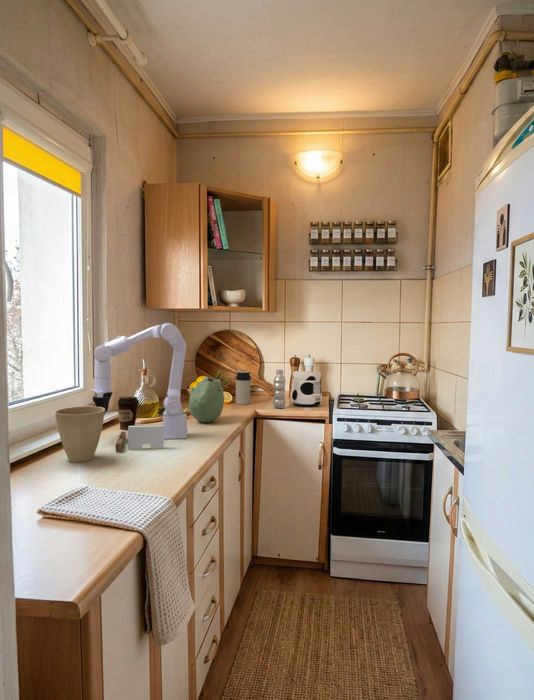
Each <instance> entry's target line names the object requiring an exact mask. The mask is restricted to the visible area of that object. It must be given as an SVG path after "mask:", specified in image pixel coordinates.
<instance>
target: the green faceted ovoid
mask: <svg viewBox="0 0 534 700" xmlns="http://www.w3.org/2000/svg"><path fill="white" fill-rule="evenodd" d="M221 383H222V382H221V380H220V379H216V378H212V377H208V376H203V379H201V381H199V382H198V383H196V386H192V387H191V391H190V394H189V397H188V398H189V399H188V405H187V406H188V410H189V412H190V414H191V416H192V418H194V419H195V420H196V421H198V422H200V423H204V424H205V423H206V424H207V423H213V422H214V421H215V420H216V419H218V418H219V417H220V416H222V414H223V413H222V412H223V409H224V404H225V395H224V394H225V393H224V389H223V386H222V384H221Z"/></svg>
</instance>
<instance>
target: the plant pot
mask: <svg viewBox="0 0 534 700" xmlns="http://www.w3.org/2000/svg"><path fill="white" fill-rule="evenodd" d="M104 413H105V414H106V412H105V409H104V408H102V407H96V406H95V405H94V406H91V405H90V406H84V405H83V406H73V407H65V408H59V409H56V410H55V411H54V414H55V420H56V425H57V431H58V434H59V438H60V441H61V444H62V447H63V450H64V453H65V455H66V457H67V460H68V461H69V462H71V463H80V462H81V463H82V462H83V463H84V462H88V461H91V460H93V458H94V457H95V454H96V451H97V448H98V445H99V441H100V438H101V435H102V434H101V433H102V429H103V425H104V420H105V415H104Z"/></svg>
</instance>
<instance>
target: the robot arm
mask: <svg viewBox="0 0 534 700" xmlns="http://www.w3.org/2000/svg"><path fill="white" fill-rule="evenodd" d="M150 338H158V339H160V338H162V339H164V340H165V341H166V342H168V343H169V345H171V347H172V348H173V352H172V360H171V366H170V374H169V382H168V389H167V391H166V392H167V393H166V396H165V398H164V399H163V403H162V404H163V407H164V411H163V412H162V425H164V440H170V439H171V440H172V439H173V440H174V439H187V438H188V435H187V434H188V433H189V431H188V418H187V417H188V416H187V415H188V414H187V413H182V408H183V407H182V406H183V405H182V403H181V393H182V392H181V389H182V383H183V382H182V381H183V373H184V366H185V360H186V353H187V351H186V350H187V343H186V341H185V338H184V336H183V335H182V332H181V331H180V329H179V327H177V326H176V325H175V324H173V323H169V322H164V323H163V324H158V325H153V326H151V327H148V328H146V329H144V330H142V331H140V332H137V333H136V334H135V333H134V334H133V335H131V336H129V337H128V336H126V335H117V336H116V338H115V339H112V340H110V341H104V342H103V343H104V344H100V345H98V346H96V348H95V349H94V351H93V355H94V388H91V389H90V390H91V392H94V393H96V396H95V395H94V396H92V401H93V402H94V404H95V405H94V406H95V407H102V408H104V409H105V413H104V416H105V414H106V412H108V411H109V410H108V409H109V405H110V400H111V397H112V395H113V392H112V386H111V385H112V382H111V380H112V373H111V371H112V370H111V368H112V367H111V357H115V356H118V355H120V354H123V353H126V352H128V351H130V350H131V348H132V345H135V344H137V343H140V342H143V341H146V340H149V339H150Z"/></svg>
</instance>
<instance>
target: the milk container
mask: <svg viewBox="0 0 534 700" xmlns="http://www.w3.org/2000/svg"><path fill="white" fill-rule="evenodd" d="M321 385H322V373H321V372H320V371H316V370H315V371H314V370H295V371H293V372H292V385H291V391H290V402H291V403H292V404H294V405H296V406H301V407H316V406H319V405H320V404H321V403H322V400H323V394H322V388H321V387H322V386H321Z"/></svg>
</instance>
